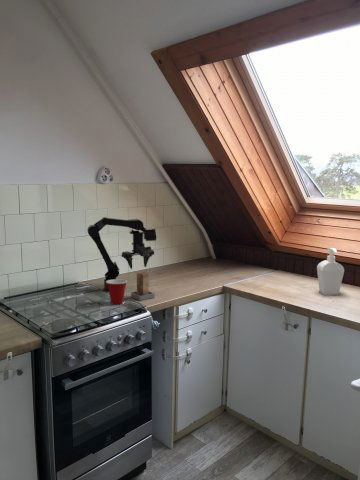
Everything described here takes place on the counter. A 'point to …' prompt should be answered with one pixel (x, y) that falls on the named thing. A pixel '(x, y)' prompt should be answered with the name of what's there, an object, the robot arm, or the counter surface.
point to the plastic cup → (116, 290)
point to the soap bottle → (330, 275)
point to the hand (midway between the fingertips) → (138, 268)
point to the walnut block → (142, 283)
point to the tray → (144, 297)
